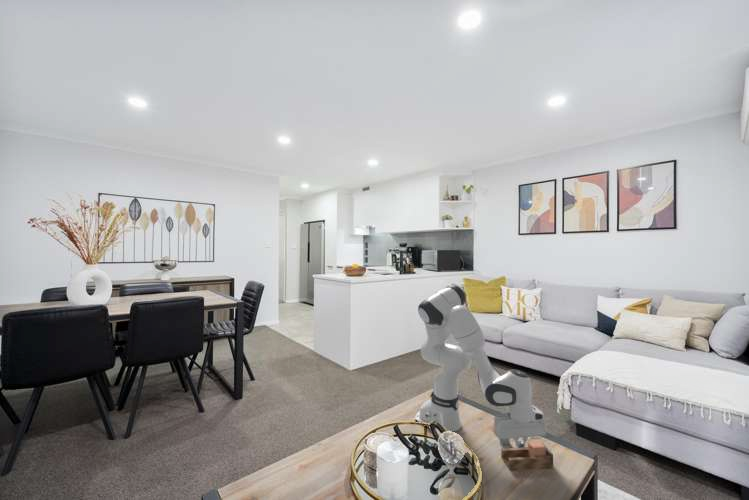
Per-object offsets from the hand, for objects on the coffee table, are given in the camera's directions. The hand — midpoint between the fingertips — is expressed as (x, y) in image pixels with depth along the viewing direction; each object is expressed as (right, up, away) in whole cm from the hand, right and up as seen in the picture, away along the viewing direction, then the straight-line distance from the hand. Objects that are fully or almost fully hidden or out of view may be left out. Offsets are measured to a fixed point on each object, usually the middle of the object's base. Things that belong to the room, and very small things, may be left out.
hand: (520, 446), depth 121 cm
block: (+6, -5, 0) cm, 8 cm away
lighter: (-3, -6, +11) cm, 13 cm away
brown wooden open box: (+2, -6, -1) cm, 6 cm away
